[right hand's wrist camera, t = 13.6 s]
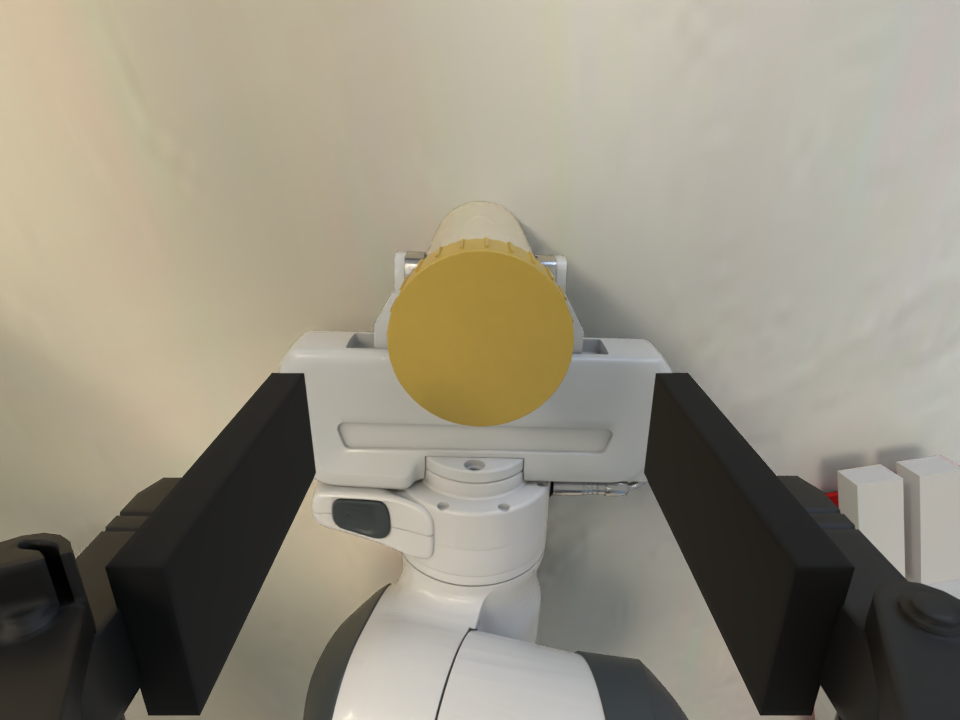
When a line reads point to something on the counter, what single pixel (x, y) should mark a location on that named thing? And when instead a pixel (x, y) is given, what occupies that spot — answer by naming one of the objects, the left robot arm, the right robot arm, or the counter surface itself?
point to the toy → (905, 523)
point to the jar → (480, 226)
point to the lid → (480, 333)
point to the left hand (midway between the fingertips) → (479, 255)
